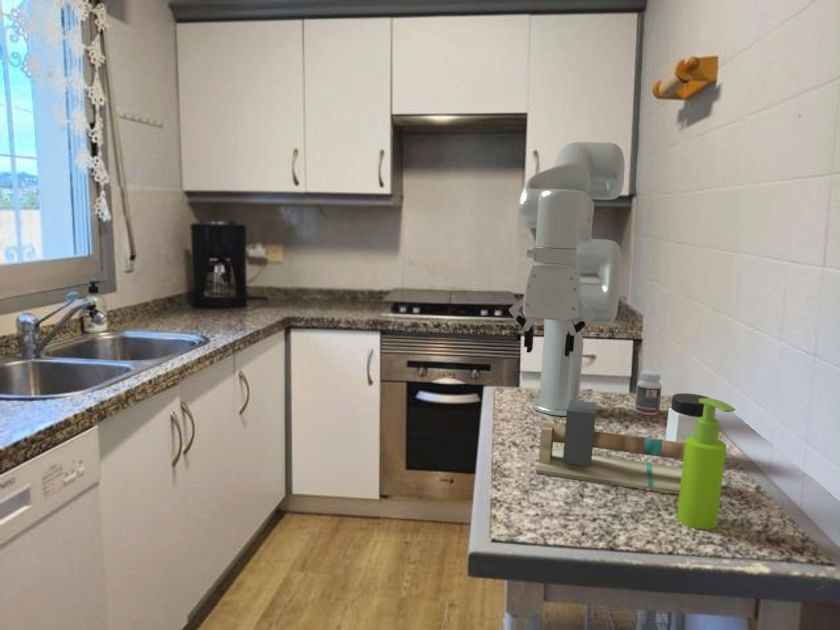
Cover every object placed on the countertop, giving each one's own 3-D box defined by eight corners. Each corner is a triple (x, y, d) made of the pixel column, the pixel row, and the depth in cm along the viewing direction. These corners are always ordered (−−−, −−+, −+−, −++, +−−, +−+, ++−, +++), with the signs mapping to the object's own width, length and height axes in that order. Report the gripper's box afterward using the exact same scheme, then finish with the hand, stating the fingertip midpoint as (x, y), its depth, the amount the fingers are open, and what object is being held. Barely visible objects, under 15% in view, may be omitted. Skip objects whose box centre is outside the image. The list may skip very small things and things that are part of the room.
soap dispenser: (702, 535, 101) (717, 408, 98) (668, 515, 108) (681, 395, 104) (730, 529, 104) (745, 405, 101) (696, 510, 110) (709, 393, 107)
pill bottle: (662, 416, 162) (666, 376, 161) (638, 415, 162) (642, 375, 161) (654, 409, 168) (658, 371, 166) (631, 408, 168) (635, 370, 166)
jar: (692, 466, 130) (698, 406, 128) (656, 452, 136) (662, 396, 135) (718, 458, 135) (725, 401, 133) (683, 445, 141) (689, 391, 140)
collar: (566, 449, 130) (570, 399, 129) (592, 452, 129) (596, 402, 127) (562, 462, 123) (566, 410, 122) (590, 466, 122) (595, 413, 120)
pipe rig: (543, 451, 134) (546, 416, 133) (703, 474, 126) (708, 436, 124) (535, 473, 123) (538, 434, 121) (711, 500, 114) (716, 458, 113)
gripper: (505, 255, 121) (499, 352, 124) (603, 261, 116) (594, 362, 119) (511, 253, 128) (505, 345, 131) (604, 259, 123) (596, 354, 126)
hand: (548, 352), depth 125 cm, fingers open, 6 cm apart
